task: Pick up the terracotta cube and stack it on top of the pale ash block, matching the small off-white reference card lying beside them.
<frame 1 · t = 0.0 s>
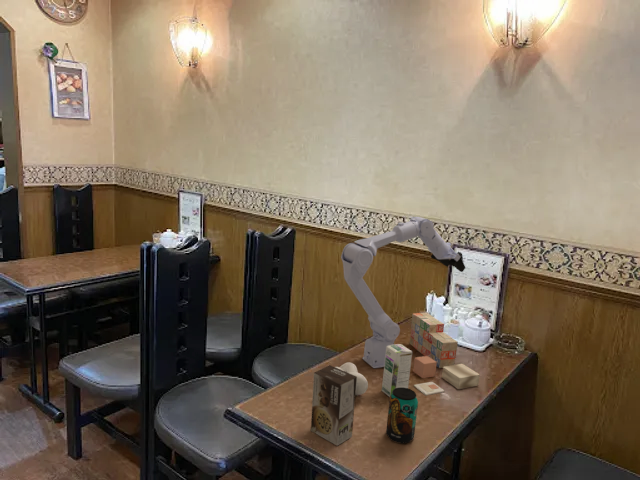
hand: (455, 267, 168), 32 cm above the table, tool tilted 50°, fingers open, 7 cm apart
beverage can: (399, 437, 120), on the table
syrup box: (394, 394, 141), on the table
white lobed shape: (343, 395, 139), on the table
terracotta cube: (424, 374, 156), on the table
reference card: (428, 388, 146), on the table
coffee box: (331, 434, 119), on the table
ash block: (459, 382, 152), on the table
stack of blocks: (430, 355, 171), on the table
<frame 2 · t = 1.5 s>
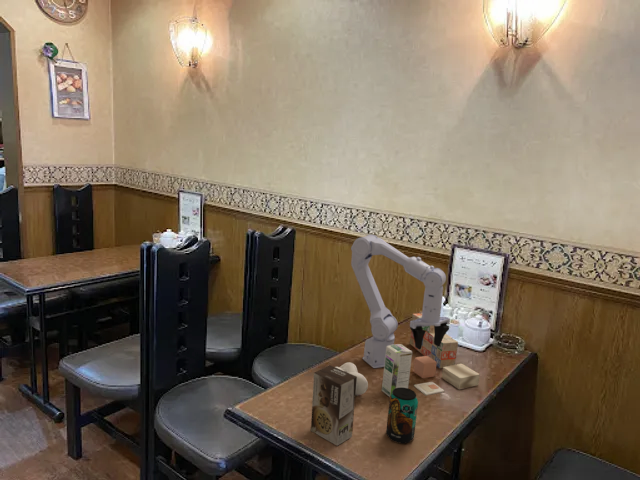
hand: (427, 346, 154), 9 cm above the table, tool pointing down, fingers open, 7 cm apart
nothing on the table moved.
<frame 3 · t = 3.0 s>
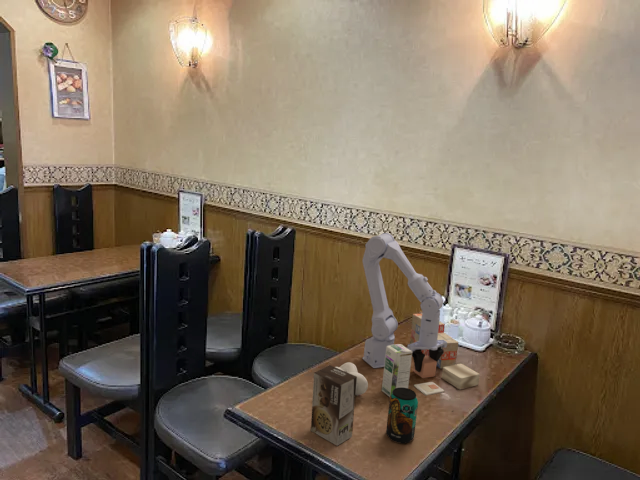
hand: (424, 369, 155), 1 cm above the table, tool pointing down, fingers closed on terracotta cube, 5 cm apart
terracotta cube: (424, 373, 156), on the table, touching gripper
everything else where it was.
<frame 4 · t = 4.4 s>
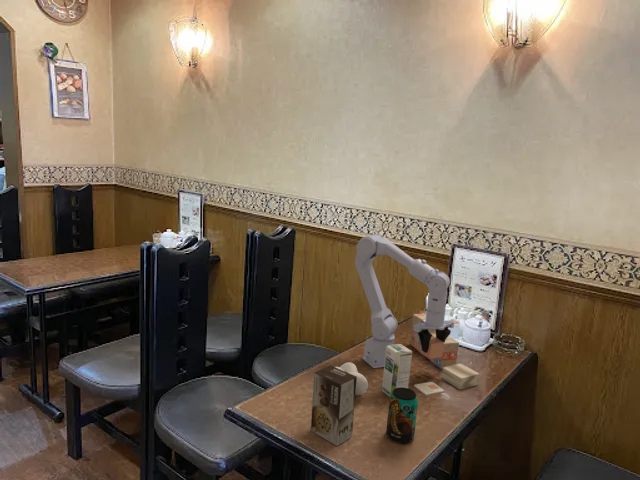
hand: (431, 350, 154), 8 cm above the table, tool pointing down, fingers closed on terracotta cube, 5 cm apart
terracotta cube: (431, 354, 154), point 7 cm above the table, touching gripper
everything else where it was.
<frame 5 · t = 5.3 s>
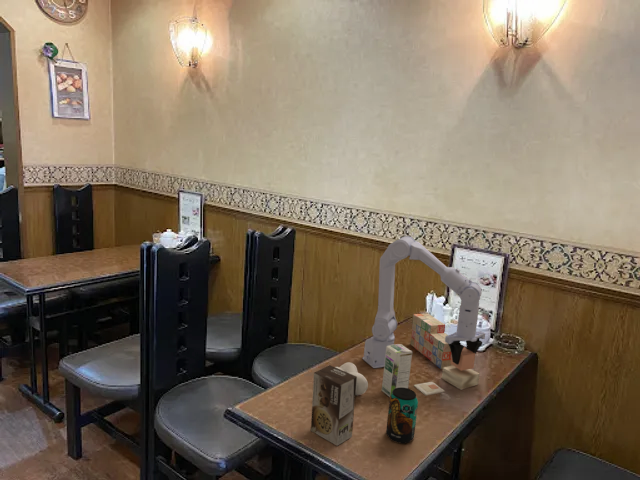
hand: (462, 361, 151), 7 cm above the table, tool pointing down, fingers closed on terracotta cube, 5 cm apart
terracotta cube: (461, 366, 151), point 5 cm above the table, touching gripper
everything else where it was.
when the fingers open (6 cm above the table, at t = 5.8 s): terracotta cube drops 1 cm, point 4 cm above the table.
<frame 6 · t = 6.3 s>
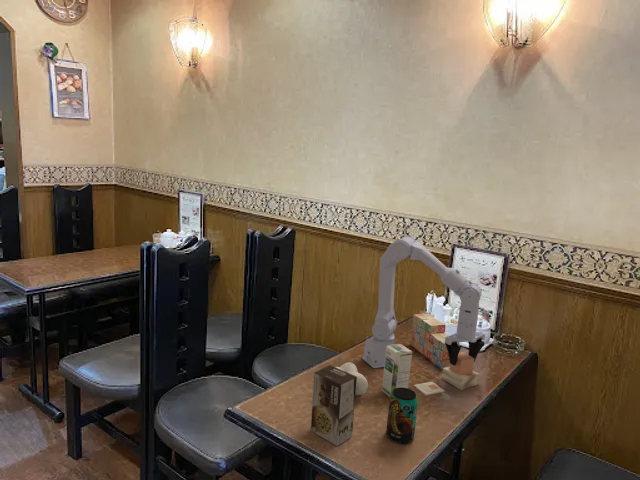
hand: (462, 362, 151), 6 cm above the table, tool pointing down, fingers open, 7 cm apart
terracotta cube: (460, 370, 151), point 4 cm above the table
everything else where it was.
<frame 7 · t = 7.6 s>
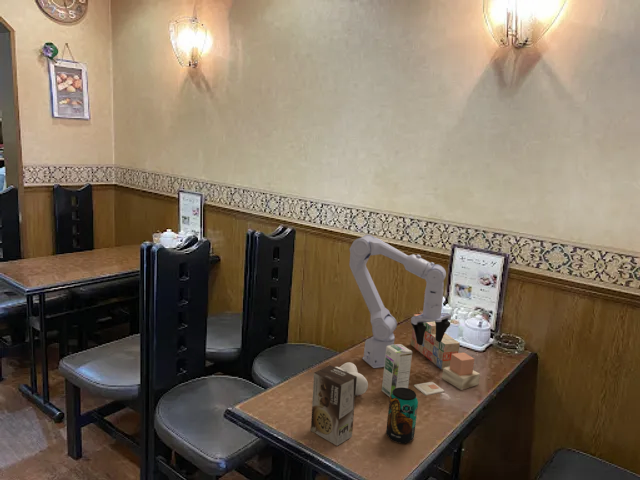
hand: (428, 342, 155), 10 cm above the table, tool pointing down, fingers open, 7 cm apart
terracotta cube: (460, 371, 151), point 4 cm above the table, touching ash block
ash block: (459, 382, 152), on the table, touching terracotta cube
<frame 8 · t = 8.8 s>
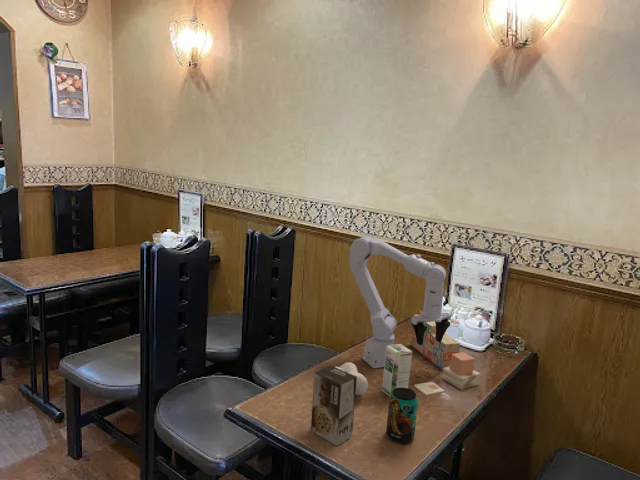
hand: (428, 342, 155), 10 cm above the table, tool pointing down, fingers open, 7 cm apart
at the end: terracotta cube 0.4 cm off-centre on the ash block, point 4.0 cm above the ash block's base; terracotta cube tilted 0°; the gripper is holding nothing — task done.
